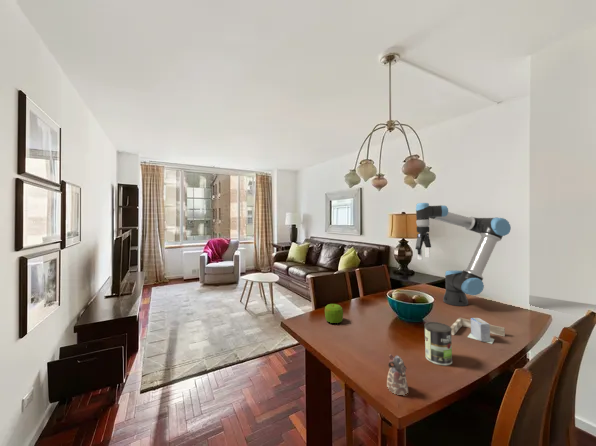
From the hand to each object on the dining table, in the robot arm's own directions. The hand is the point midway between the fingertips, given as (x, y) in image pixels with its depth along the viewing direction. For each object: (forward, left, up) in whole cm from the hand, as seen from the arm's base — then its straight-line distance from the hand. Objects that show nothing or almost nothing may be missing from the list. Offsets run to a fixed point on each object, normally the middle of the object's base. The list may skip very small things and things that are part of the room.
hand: (423, 258), depth 164 cm
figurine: (+87, +21, -35) cm, 96 cm away
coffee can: (+56, +25, -35) cm, 71 cm away
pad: (+22, +34, -35) cm, 53 cm away
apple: (+55, -33, -35) cm, 73 cm away
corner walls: (+19, +32, -35) cm, 51 cm away
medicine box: (+22, +34, -35) cm, 53 cm away
